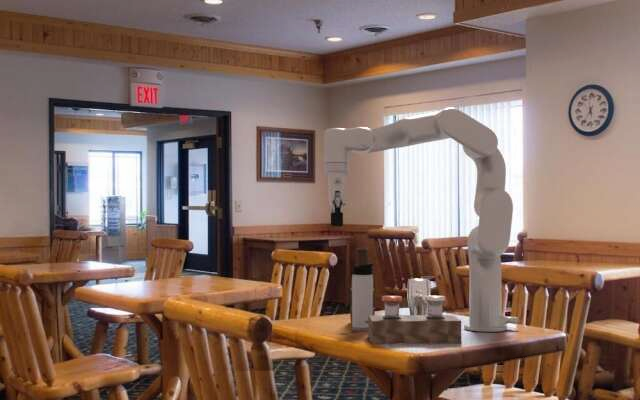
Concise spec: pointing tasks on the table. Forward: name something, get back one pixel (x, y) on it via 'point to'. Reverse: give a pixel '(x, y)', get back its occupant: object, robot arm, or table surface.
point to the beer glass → (418, 296)
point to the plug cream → (435, 306)
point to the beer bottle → (361, 260)
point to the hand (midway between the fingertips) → (336, 226)
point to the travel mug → (362, 296)
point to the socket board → (414, 329)
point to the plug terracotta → (391, 306)
